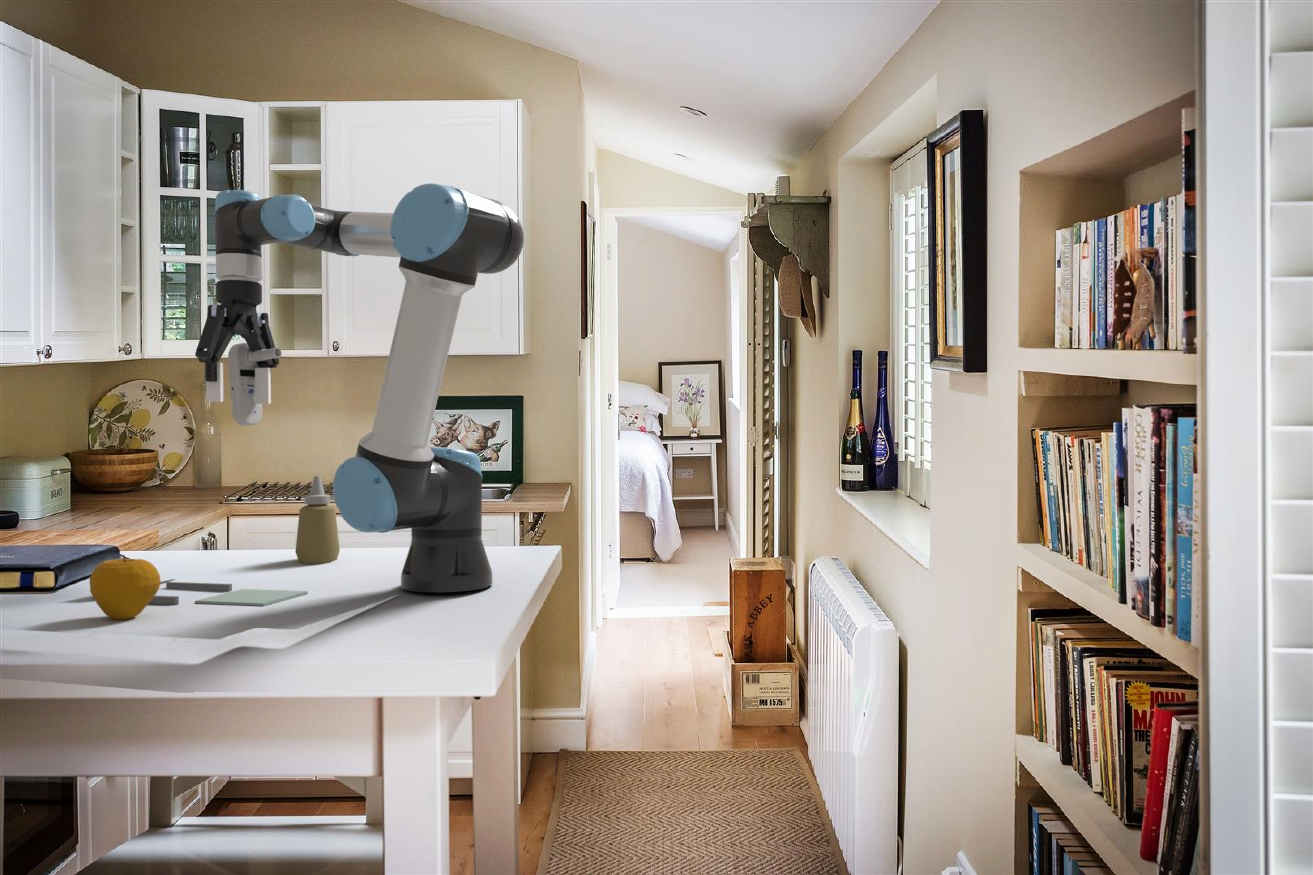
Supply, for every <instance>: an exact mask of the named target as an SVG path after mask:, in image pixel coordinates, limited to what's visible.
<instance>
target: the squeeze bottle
mask: <svg viewBox="0 0 1313 875" xmlns="http://www.w3.org/2000/svg"><path fill="white" fill-rule="evenodd" d="M310 489H311V490H310V492H309V493H310V494H308V495H304V504H305V505H304V506H302V507H301V508H300V509H299V512H298V522H297V524H298V525H297V532H296V541H295V542H296V544H295V551H294V552H295V555H296V558H297V561H298V563H299V564H303V565H322V563H323V564H329V563H330V564H331V563H333V562H332V561H334V562H336V561H337V560H338V557H339V554H340V551H341V550H340V541H339V540H340V539H339V532H338V522H337V512H336V508H335V507H333V506H332V505H330V504H331V495H330V494H325V489H324V486H323V481H322V478H321V476H320V475H316V476H315V475H314V476H313V480H312V485H311V488H310ZM335 560H336V561H335Z"/></svg>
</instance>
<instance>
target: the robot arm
mask: <svg viewBox="0 0 1313 875" xmlns="http://www.w3.org/2000/svg"><path fill="white" fill-rule="evenodd" d="M214 209H215V210H214V212H213V217H214V240H215V241H214V243H215V245H214V246H215V250H214V251H215V278H217V280H218V281H216V283H215V302H216V303H218V304H208V305H207V314H206V320H205V323H204V326H203V328H202V332H201V334H200V338H199V340H198V344H197V347H196V349H195V350H196V351H195V353H194V355H195V357H196V358H197V359H198V362H199V363H201V364H202V363H203V364H204V367H205V368H204V380H205V385H206V390H205V391H206V393H205V394H206V395H205V396H206V403H215V402H216V403H223V402H224V363H223V362H220V360H221V359H222V356H223V355H224V353H225V351H226V349H227V348H228V345H229V344H230V343H231V341H232V339H233V337H234V336H235V335H236V336H240V337H241V338H242V339H244V340H245V343H247V344H248V347H249V349H250V351H251V352H254V351H257V350H262V349H272V348H276V345H275V343H274V338H273V335H272V332H271V328H270V322H269V321H270V320H269V313H267V312H258V311H257V306H260V305H262V302H263V285H261V283H260V281H262V280H263V264H262V263H263V262H262V260H263V258H262V257H263V255H262V254H263V253H262V246H263V245H264V246H265V245H269V244H271V245H272V244H284V245H288V246H296V247H299V248H305V249H309V250H317V251H321V252H326V253H331V254H335V255H337V256H344V257H358V256H360V255H361V256H375V257H388V258H400V260H399V263H398V269H399V272H401V274H402V275H403V278H404V280H405V284H404V288H403V292H402V297H401V302H400V307H399V309H398V310H399V311H398V313H397V314H398V316H397V319H396V323H395V328H394V333H393V337H392V341H391V346H390V350H389V354H388V358H387V363H386V366H385V367H386V368H385V372H384V377H383V381H382V385H381V389H380V394H379V398H378V403H377V407H376V411H375V416H374V420H373V424H372V430H371V431H370V432H368V433H367V434H365V435H364V436H362V437H360V438H359V440H358V445H357V449H356V453H355V456H353V457H349V458H347V459H346V460H344V461H343V462H342V463H340V465H338V467H337V469H336V471H335V473H334V477H333V482H332V493H333V499H334V503H335V506H336V507H337V509H338V511H339V512H338V513H339V514H340V516H341V518H342V519H343V520H344V521H345V523H346V524H348V525H349V527H351V528H353V529H354V530H356V531H359V532H362V533H378V534H379V533H380V534H381V533H382V534H385V533H388V532H391V531H401V530H407V529H411V539H410V545H409V548H408V552H407V554H406V558H405V561H404V564H403V567H402V571H401V574H400V588H401V589H402V590H405V591H409V592H417V593H422V592H423V593H454V592H455V593H456V592H468V591H476V590H481V589H486V588H489V587H492V585H493V570H492V567H491V563H490V561H489V559H488V556H487V552H486V549H485V546H484V543H483V538H482V536H483V535H482V530H483V529H482V527H483V525H482V522H483V521H482V520H483V518H482V515H483V513H482V504H483V503H482V502H483V501H482V499H483V498H482V497H483V496H482V493H483V491H482V490H483V489H482V488H483V485H482V484H483V483H482V482H483V481H482V480H483V473H482V463H481V458H480V456H479V455H478V454H476V453H475V452H472V451H470V450H464V449H455V448H446V447H430V445H429V444H428V441H429V437H430V432H431V428H432V424H433V422H434V417H435V416H434V415H435V412H436V408H437V407H436V406H437V403H438V399H439V395H440V391H441V390H440V389H441V386H442V381H443V378H444V374H445V370H446V365H447V361H448V357H449V352H450V348H451V343H452V339H453V336H454V331H455V326H456V322H457V318H458V316H459V310H460V306H461V304H462V303H461V302H462V298H463V296H464V295H465V293H467V292H469V291H470V290H472V289H474V288H475V287H476V282H477V278H478V274H485V275H489V274H490V275H491V274H497V273H500V272H503V271H505V270H507V269H509V268H510V267H511V266H513V265H514V264H515V263H516V261H518V259H519V257H520V255H521V254H522V250H523V247H524V241H525V238H524V236H525V235H524V230H523V226H522V223H521V221H520V219H519V218H518V216H517V215H516V213H515V212H514V211H513V210H512V209H511V208H510V207H508V206H507V205H506V204H504V203H502V202H500V201H499V200H496V199H491V198H487V197H485V196H484V197H483V196H481V195H477V194H475V193H472V192H469V191H465V190H462V189H459V188H456V187H454V186H452V185H451V186H450V185H444V184H439V183H424V184H420V185H418V186H415V187H414V188H413V189H412V190H411V191H408V192H407V193H405V195H404V196H403V197H402V198H401V199H400V200H399V201H398V204H397V205H396V207H395V210H394V212H374V211H373V212H372V211H371V212H370V211H369V212H365V211H344V210H335V209H334V210H333V209H331V208H330V209H329V208H326V207H325V208H323V207H320V206H316V205H313V204H311V203H309V201H307V200H306V199H305V198H303V196H301V195H298V194H278V195H274V196H270V197H267V198H261V197H260V195H259V194H257V193H256V192H252V191H248V190H244V189H232V190H231V189H224V190H221V191H219V192H218V193H217V194H216V196H215V208H214ZM256 363H257V365H258V367H259V368H255V404H262V405H271V404H272V394H271V393H272V391H271V390H272V369H277V367H278V366H279V365H280V359H279V358H273V359H267V360H263V361H257V362H256ZM491 584H492V585H491ZM488 586H489V587H488Z"/></svg>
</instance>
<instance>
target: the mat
mask: <svg viewBox="0 0 1313 875" xmlns="http://www.w3.org/2000/svg"><path fill="white" fill-rule="evenodd" d="M308 593H309V591H308V590H281V589H280V590H279V589H255V588H252V589H251V588H250V589H249V588H246V589H245V588H242V589H237V590H232V591H230V592H225V593H221V594H216V595H212V596H208V597H205V598H201V599H196V600H194V604H199V605H202V604H204V605H227V606H228V605H230V606H232V605H233V606H255V607H256V606H257V607H258V606H259V607H265V606H268V605H272V604H275V603H276V604H277V603H279V602H282V601H285V600H289V599H293V598H298V597H301V596H304V595H308Z"/></svg>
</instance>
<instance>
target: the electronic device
mask: <svg viewBox="0 0 1313 875" xmlns="http://www.w3.org/2000/svg"><path fill="white" fill-rule="evenodd" d="M282 352H283V351H282V350H281V348H279V347H275V348H272V349H262V350H257V351H254V352H251V351H250V349H249V347H248V344H247V342H239V343H236V344H235V343H234V344H232V346H231V347H230V349H229V351H228V357H227V361H228V375H229V376H228V377H229V390H230V392H229V393H230V400H231V403H230V404H231V415H232V417H233V420H234V421H235V422H236V424H238V425H239V426H242V427H243V426H244V427H245V426H246V427H247V426H248V427H249V426H254V425H257V424H259V423H260V421H261V419H262V417H263V404H255V368H259V367H258V365H257V363H256V362H257V361H263V360H267V359H273V358H278V359H279V358H281V357H282V354H283V353H282Z"/></svg>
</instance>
